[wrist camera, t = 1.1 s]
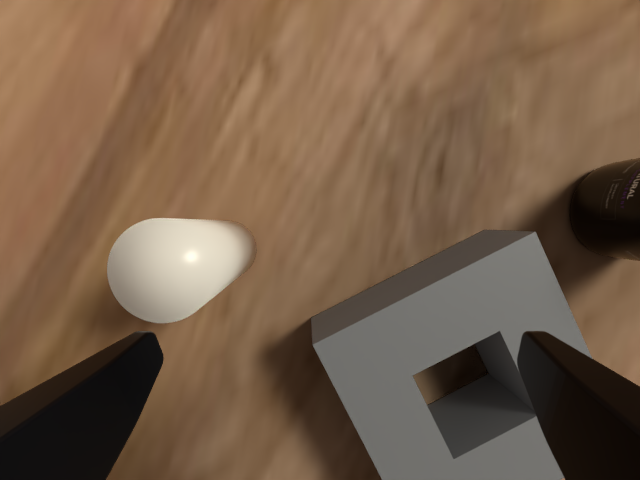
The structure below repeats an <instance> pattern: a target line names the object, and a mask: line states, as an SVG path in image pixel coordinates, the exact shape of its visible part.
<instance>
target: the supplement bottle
mask: <svg viewBox="0 0 640 480" xmlns="http://www.w3.org/2000/svg"><path fill="white" fill-rule="evenodd" d="M570 219H571V224H572V227H573V230H574V232H575V234H576V236H577V237H578V239H579V240H580V241H581V242H582V243H583V244H584V245H585V246H586V247H587V248H589V249H590V250H592V251H593V252H596V253H598V254H600V255H604V256H608V257H614V258H621V259H629V260H637V261H640V158H637V159H631V160H626V161H621V162H616V163H612V164H608V165H605V166H602V167H600V168H598V169H596V170H595V171H593V172H592V173H590V174H589V175H588V176H587V177H586V178H585V179H584V180H583V181H582V182H581V183H580V185H579V186H578V188H577V189H576V191H575V193H574V195H573V198H572V201H571V206H570Z"/></svg>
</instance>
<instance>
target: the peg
mask: <svg viewBox="0 0 640 480" xmlns="http://www.w3.org/2000/svg"><path fill="white" fill-rule="evenodd" d="M255 256H256V243H255V239H254V237H253V235H252V234H251V232H250V231H249V230H248V229H247V228H246V227H245V226H243V225H242V224H240V223H238V222H234V221H228V220H200V219H173V218H154V219H148V220H144V221H141V222H139V223H136V224H135V225H133V226H131V227H129V228H128V229H127V230H126V231H124V232H123V233H122V234H121V235H120V236H119V238H118V239H117V240H116V242H115V243H114V245H113V247H112V249H111V252H110V254H109V258H108V264H107V276H108V281H109V285H110V288H111V290H112V292H113V294H114V296H115V298H116V299H117V301H118V302H119V303H120V304H121V306H122V307H124V308H125V309H126V310H127V311H128V312H130V313H131V314H132V315H134V316H136V317H138V318H140V319H143V320H145V321H149V322H154V323H170V322H176V321H179V320H182V319H184V318H187V317H188V316H190V315H192V314H193V313H195V312H196V311H197V310H199V309H200V308H201V307H202V306H203V305H205V304H206V303H207V302H208V301H210V300H211V299H212V298H213V297H215V296H216V295H217V294H218V293H220V292H221V291H222V290H223V289H225V288H226V287H227V286H228V285H230V284H231V283H232V282H233V281H234V280H236V279H237V278H238V277H239V276H241V275H242V274H243V273H244V272H246V271H247V270H248V269H249V268H250V267H251V265H252V264H253V262H254V259H255Z"/></svg>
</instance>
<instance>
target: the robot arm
mask: <svg viewBox="0 0 640 480" xmlns="http://www.w3.org/2000/svg"><path fill="white" fill-rule="evenodd" d="M162 364H163V353H162V350H161V348H160V345H159V342H158V340H157V337H156V335H155V334H154V333H153V332H151V331H138V332H135V333H133V334H131V335H129V336H127V337H125V338H124V339H122V340H120V341H118V342H116V343H114V344H113V345H111V346H109V347H107V348H105V349H104V350H102V351H100V352H98V353H96V354H94V355H93V356H91V357H89V358H87V359H85V360H83V361H82V362H80V363H78V364H76V365H74V366H73V367H71V368H69V369H67V370H65V371H63V372H62V373H60V374H58V375H56V376H54V377H52V378H51V379H49V380H47V381H45V382H43V383H42V384H40V385H38V386H36V387H34V388H32V389H31V390H29V391H27V392H25V393H23V394H21V395H20V396H18V397H16V398H14V399H12V400H11V401H9V402H7V403H5V404H3V405H1V406H0V480H106V479H107V477H108V475H109V473H110V471H111V469H112V468H113V466H114V464H115V462H116V460H117V458H118V456H119V455H120V453H121V451H122V449H123V447H124V445H125V444H126V442H127V440H128V438H129V436H130V434H131V433H132V431H133V429H134V427H135V425H136V423H137V421H138V419H139V416H140V414H141V412H142V410H143V408H144V405H145V403H146V401H147V398H148V396H149V394H150V392H151V389H152V387H153V385H154V382H155V380H156V378H157V376H158V373H159V371H160V369H161V366H162ZM517 366H518V370H519V372H520V375H521V378H522V380H523V383H524V385H525V388H526V391H527V393H528V396H529V398H530V401H531V404H532V406H533V409H534V411H535V414H536V417H537V419H538V422H539V424H540V427H541V430H542V432H543V434H544V437H545V439H546V441H547V444H548V446H549V448H550V450H551V452H552V454H553V456H554V458H555V460H556V462H557V464H558V466H559V468H560V470H561V472H562V474H563V476H564V478H565V480H640V386H638V385H636V384H634V383H633V382H631V381H629V380H628V379H626V378H624V377H623V376H621V375H619V374H617V373H616V372H614V371H612V370H611V369H609V368H607V367H606V366H604V365H602V364H600V363H599V362H597V361H595V360H594V359H592V358H590V357H589V356H587V355H585V354H583V353H582V352H580V351H578V350H577V349H575V348H573V347H572V346H570V345H568V344H566V343H565V342H563V341H561V340H560V339H558V338H556V337H555V336H553V335H551V334H549V333H548V332H545V331H526V332H524V333H523V335H522V338H521V342H520V347H519V352H518V356H517Z"/></svg>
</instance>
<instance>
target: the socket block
mask: <svg viewBox="0 0 640 480" xmlns="http://www.w3.org/2000/svg"><path fill="white" fill-rule="evenodd" d="M311 326H312V343H313V347H314V349H315V351H316V352H317V354H318V356H319V358H320V360H321V362H322V364H323V366H324V368H325V370H326V372H327V374H328V376H329V378H330V380H331V382H332V384H333V385H334V387H335V389H336V391H337V393H338V395H339V397H340V399H341V401H342V403H343V405H344V407H345V409H346V411H347V413H348V415H349V416H350V418H351V420H352V422H353V424H354V426H355V428H356V430H357V432H358V434H359V436H360V438H361V440H362V442H363V444H364V446H365V448H366V449H367V451H368V453H369V455H370V457H371V459H372V461H373V463H374V465H375V467H376V469H377V471H378V473H379V475H380V477H381V479H382V480H561V479H562V478H564V476H563V474H562V472H561V470H560V468H559V466H558V464H557V462H556V460H555V458H554V456H553V454H552V452H551V450H550V448H549V446H548V444H547V441H546V439H545V437H544V434H543V432H542V430H541V427H540V424H539V422H538V419H537V417H536V414H535V411H534V409H533V406H532V404H531V401H530V398H529V396H528V393H527V391H526V388H525V385H524V383H523V380H522V378H521V375H520V372H519V370H518V366H517V356H518V352H519V347H520V342H521V338H522V335H523V333H524V332H526V331H545V332H548V333H549V334H551V335H553V336H555V337H556V338H558V339H560V340H561V341H563V342H565V343H566V344H568V345H570V346H572V347H573V348H575V349H577V350H578V351H580V352H582V353H583V354H585V355H587V356H589V357H590V358H592V357H591V355H590V353H589V350H588V348H587V346H586V344H585V341H584V339H583V337H582V335H581V332H580V330H579V328H578V326H577V323H576V321H575V319H574V317H573V315H572V312H571V310H570V308H569V306H568V303H567V301H566V299H565V297H564V294H563V292H562V290H561V288H560V285H559V283H558V281H557V279H556V277H555V274H554V272H553V270H552V268H551V265H550V263H549V261H548V259H547V256H546V254H545V252H544V250H543V247H542V245H541V243H540V241H539V238H538V236H537V234H536V232H533V231H504V230H483V231H481V232H479V233H477V234H475V235H473V236H471V237H469V238H467V239H465V240H463V241H461V242H459V243H458V244H456V245H454V246H452V247H450V248H448V249H446V250H444V251H442V252H440V253H438V254H436V255H434V256H432V257H430V258H428V259H426V260H424V261H422V262H420V263H418V264H416V265H414V266H412V267H410V268H408V269H406V270H404V271H402V272H400V273H398V274H396V275H394V276H392V277H390V278H388V279H386V280H384V281H383V282H381V283H379V284H377V285H375V286H373V287H371V288H369V289H367V290H365V291H363V292H361V293H359V294H357V295H355V296H353V297H351V298H349V299H347V300H345V301H343V302H341V303H339V304H337V305H335V306H333V307H331V308H329V309H327V310H325V311H323V312H321V313H319V314H317V315H315V316H313V317H311ZM473 344H475V346H476V348H477V350H478V352H479V354H480V356H481V358H482V360H483V363H484V365H485V367H486V369H487V371H488V373H489V374H487V375H485V376H483V377H481V378H479V379H477V380H476V381H474V382H472V383H470V384H468V385H466V386H464V387H462V388H460V389H458V390H456V391H454V392H452V393H450V394H448V395H446V396H445V397H443V398H441V399H439V400H437V401H435V402H433V403H431V404H429V405H427V404H426V402H425V400H424V398H423V396H422V394H421V392H420V390H419V388H418V386H417V384H416V382H415V380H414V378H413V375H415V374H417V373H419V372H421V371H422V370H424V369H426V368H428V367H430V366H432V365H434V364H436V363H438V362H440V361H442V360H444V359H446V358H448V357H450V356H452V355H454V354H456V353H458V352H459V351H461V350H463V349H465V348H467V347H469V346H471V345H473Z"/></svg>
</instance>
